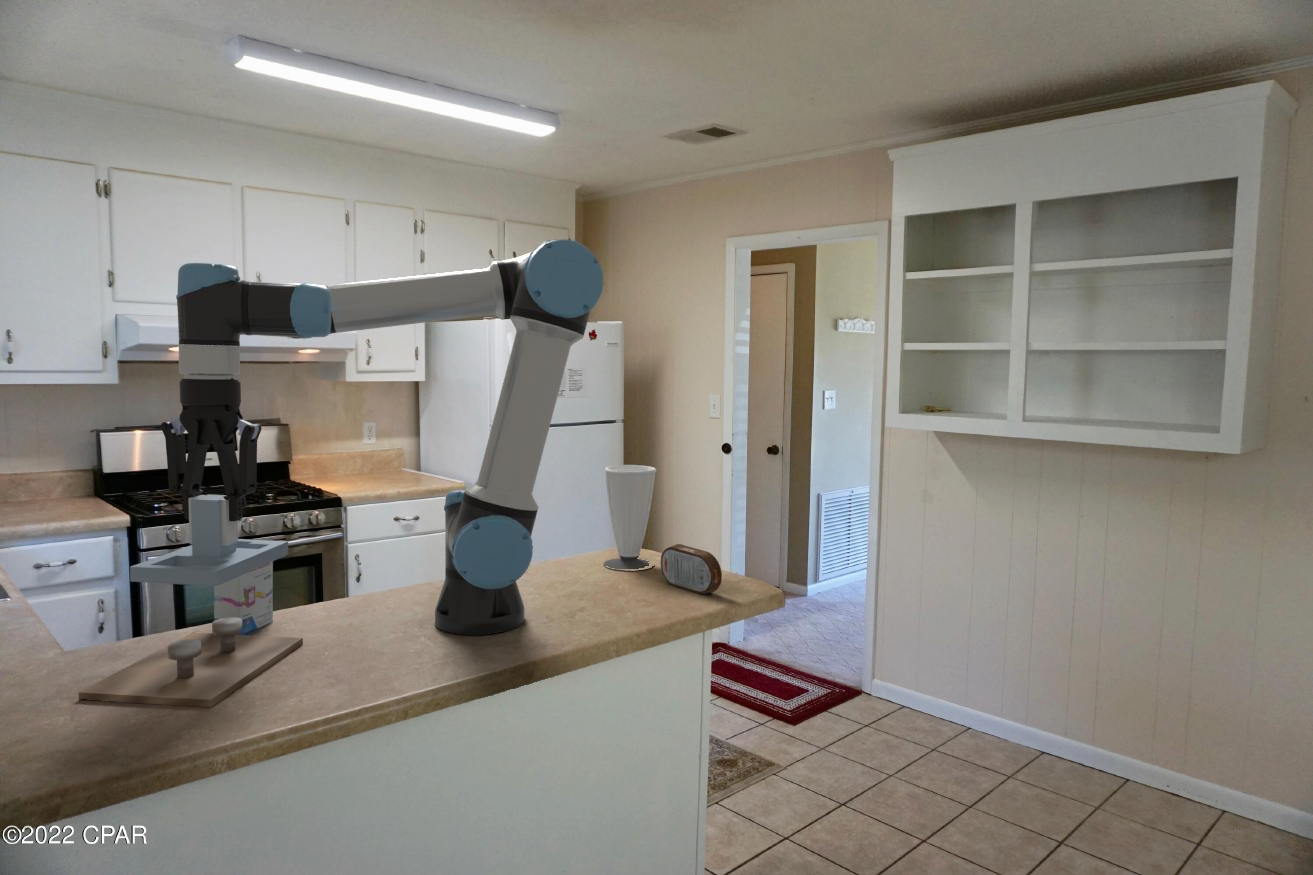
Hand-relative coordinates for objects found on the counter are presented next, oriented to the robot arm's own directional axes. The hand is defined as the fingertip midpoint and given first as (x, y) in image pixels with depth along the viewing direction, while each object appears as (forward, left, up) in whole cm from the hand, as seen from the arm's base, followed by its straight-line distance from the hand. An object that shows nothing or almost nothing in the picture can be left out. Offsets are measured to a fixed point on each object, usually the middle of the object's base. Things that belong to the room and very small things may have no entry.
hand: (214, 542), depth 119 cm
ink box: (+6, -18, -19) cm, 27 cm away
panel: (0, 0, -4) cm, 4 cm away
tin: (-66, -53, -19) cm, 86 cm away
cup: (-52, -70, -19) cm, 89 cm away
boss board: (+2, 0, -19) cm, 19 cm away
